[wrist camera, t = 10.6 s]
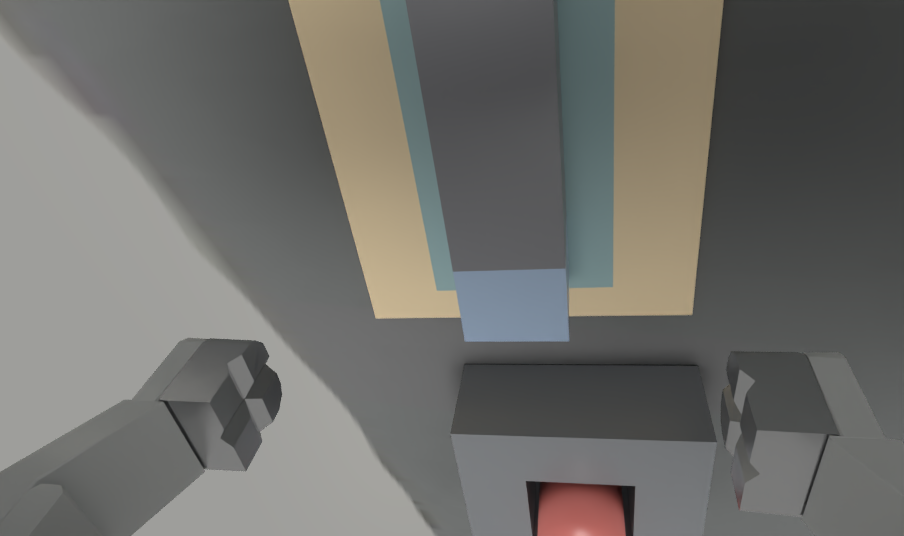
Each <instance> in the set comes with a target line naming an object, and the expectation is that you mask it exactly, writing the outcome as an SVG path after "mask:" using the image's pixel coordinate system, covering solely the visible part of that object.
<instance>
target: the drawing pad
mask: <svg viewBox="0 0 904 536" xmlns="http://www.w3.org/2000/svg"><path fill="white" fill-rule="evenodd" d="M288 1H289V5H290V8H291V12H292V16H293V19H294V23H295V26H296V30H297V34H298V37H299V41H300V45H301V48H302V52H303V55H304V59H305V63H306V66H307V70H308V74H309V77H310V81H311V84H312V88H313V92H314V95H315V99H316V103H317V106H318V110H319V114H320V117H321V121H322V124H323V128H324V132H325V135H326V139H327V143H328V146H329V150H330V153H331V157H332V161H333V164H334V168H335V172H336V175H337V179H338V182H339V186H340V190H341V193H342V197H343V201H344V204H345V208H346V211H347V215H348V219H349V222H350V226H351V230H352V233H353V237H354V240H355V244H356V248H357V251H358V255H359V259H360V262H361V266H362V270H363V273H364V277H365V280H366V284H367V288H368V291H369V295H370V299H371V302H372V306H373V309H374V313H375V317H376V318H453V317H461V316H460V310H459V304H458V299H457V293H456V287H455V281H454V276H453V270H452V264H451V259H450V253H449V247H448V241H447V236H446V230H445V224H444V218H443V213H442V207H441V201H440V196H439V190H438V184H437V178H436V173H435V167H434V161H433V155H432V150H431V144H430V138H429V132H428V127H427V121H426V115H425V110H424V104H423V98H422V92H421V87H420V81H419V75H418V69H417V64H416V58H415V52H414V47H413V41H412V35H411V29H410V24H409V18H408V12H407V6H406V1H405V0H288ZM723 2H724V0H557V11H558V34H559V56H560V79H561V102H562V125H563V148H564V171H565V194H566V216H567V239H568V262H569V316H638V315H692V312H693V302H694V292H695V282H696V272H697V262H698V252H699V242H700V232H701V222H702V212H703V202H704V192H705V182H706V172H707V162H708V152H709V142H710V132H711V122H712V112H713V102H714V92H715V82H716V72H717V62H718V52H719V42H720V32H721V22H722V12H723Z"/></svg>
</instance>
